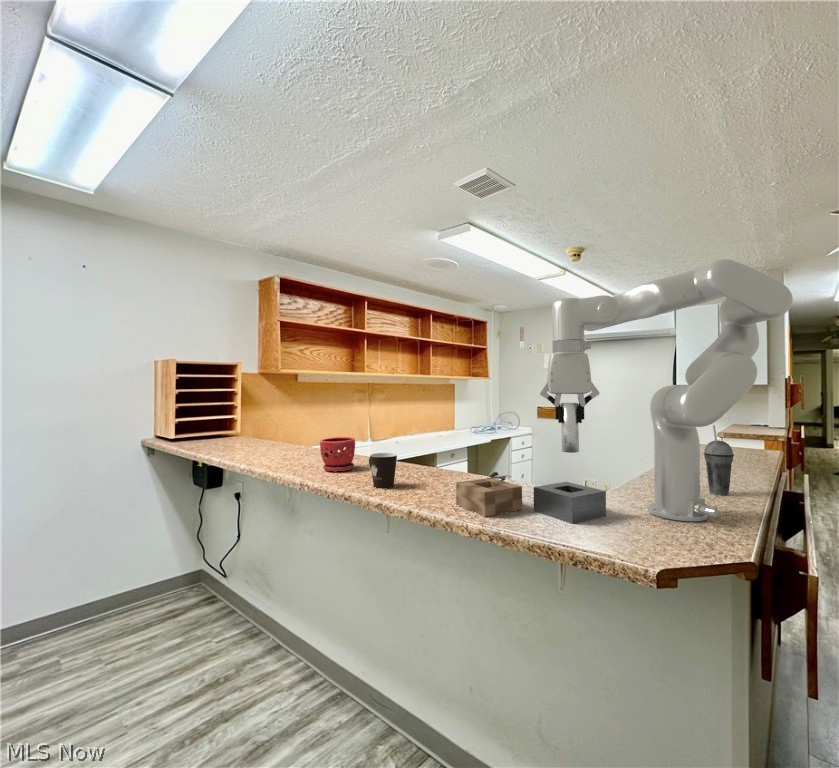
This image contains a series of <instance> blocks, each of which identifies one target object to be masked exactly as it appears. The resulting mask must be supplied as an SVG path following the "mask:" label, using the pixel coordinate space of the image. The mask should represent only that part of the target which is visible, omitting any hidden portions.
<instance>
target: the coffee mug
mask: <svg viewBox="0 0 839 768" xmlns="http://www.w3.org/2000/svg"><path fill="white" fill-rule="evenodd" d="M397 457H398V454H397V453H392V452H375V453H371V454H370V455H369V458H368V465H369V467H370V469H371V478H372V483H373V484H372V486H373V488H374V487H376V488H375V489H378V488H388V489H391V488H390V487H392V488H393V486H395V478H396V477H395V475H396V470H397V469H396V467H397V459H398V458H397Z"/></svg>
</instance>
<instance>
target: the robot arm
mask: <svg viewBox="0 0 839 768" xmlns="http://www.w3.org/2000/svg"><path fill="white" fill-rule="evenodd" d="M721 298H724V299H723V300H722V302H721V303H720V305H719V309H718V315H719V320H720V328H721V329H720V333H719V335H718V336H717V338H716V339H715V340H714V341H713V342H712V343H711V344H710V345H709V346H708V347H707V348H706V349H705V350H703V352H702V353H701V354H699V356H698V357H696V358H695V359H694V360H693V361H692V362H691V364H689V366H688V367H687V369H686V370H685V374H684V376H685V377H684V378H685V382H686V383H687V384H672V385H666V386H663V387H662V388H659V389H658V390H657V391H656V392H655V393H654V394H653V395H652V397H651V400H650V403H649V405H650V406H649V407H650V416H651V421H652V426H653V428H652V429H653V441H654V449H653V451H654V454H653V456H654V502H651V503H649V504H648V505H647V511H648V513H649V514H651V515H654V516H656V517H660V518H663V519H667V520H673V521H678V522H679V521H681V522H703V521H706V520H708V519H709V516H710V517H714V518H717V517H718V515H719V510H718V507H717V506H713V505H707V503H706V499H705V498H703V497H701V467H700V466H701V465H700V464H701V462H700V461H701V459H700V458H701V457H700V456H701V455H700V454H701V453H700V452H701V450H700V438H699V437H700V435H699V432H698V429H697V428H701V427H702V428H704V427H707V426H709V425H710V426H711V425H712V424H715V423H716V422H718V420H719V419H721V418H722V417H723V416H724V415H725V414H726V413H728V411H729V410H731V408H733V406H734V405H736V404H737V403H738V402H739V401H740V400H741V399H742V398H743V397H744V396H745V395H746V394H747V393H748V392H749V391H750V390H751V389H752V387H753V386H754V384H755V382H756V380H757V376H758V368H757V364H756V362H755V361H754V360H753V357H754V355H755V354H756V352H757V351H758V349H759V346H760V337H759V336H760V335H759V330H758V325H757V323H761V322H766V321H771V320H775V319H778V318H780V317H782V316H784V315H785V314H786V313H788V311H790V309H791V307H792V305H793V300H794V299H793V298H794V297H793V294H792V291H791V290H790V288H788V287H787V286H786V284H784V283H783V282H781V281H780V280H777V279H776V278H773V277H772V276H770V275H767V274H766V273H763V272H761V271H759V270H757V269H755V268H753V267H751V266H748V265H746V264H744V263H741V262H739V261H735V260H732V259H725V258H723V259H717V260H715V261H712V262H711V263H708V264H706V265H704V266H701V267H699V268H697V269H693V270H689V271H685V272H681V273H678V274H674V275H670V276H667V277H662V278H658V279H654V280H652V281H648V282H645V283H643V284H641V285H639V286H636V287H634V288H632V289H631V290H628V291H625V292H623V293H620V294H617V295H614V296H611V295H603V294H602V295H594V296H590V297H583V298H578V297H565V298H559V299H556V300H555V301H553V302H552V305H551V332H552V335H551V336H552V337H551V340H552V354H549V355H548V356H549V357H548V362H547V382H546V384H545V385H544V387H543V388H542V390H541V391H540V396H541V397H543V398H545V399H546V400H547V401H549V402H550V403H551V404H552V405H553V406H554V407H555V408H554V410H555V411H554V412H555V415H554V417H555V420H557V422H558V423H559V424H561V422H562V407H561V398H562V395H577V399H578V400H577V401H578V424H582V423H583V420H585V406H586V405H587V404H588V403H590V401H592V399H594V398H596V397H598V396H599V395H600V391H599V390H598V388H597V387H596V385H595V384H594V383H593V381H592V375H591V373H592V372H591V367H590V359H589V356H588V355H589V354H588V353H586V350H591V348H592V346H591V345H592V343H589V342H588V343H587V342H586V341H585V331H586V332H594V331H599V330H602V329H606V328H610V327H613V326H617V325H621V324H625V323H628V322H633V321H637V320H643V319H644V320H645V319H647V318H652V317H656V316H660V315H665V314H667V313H672V312H675V311H678V310H679V311H680V310H682V309H686V308H690V307H695V306H697V305H703V304H706V303H708V302H711V301H715V300H718V299H721ZM549 393H550V394H553V395H555V396H554V397H553V396H552V395H550V394H549ZM585 394H588V395H586V396H584V395H585Z"/></svg>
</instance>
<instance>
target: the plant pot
mask: <svg viewBox="0 0 839 768" xmlns="http://www.w3.org/2000/svg"><path fill="white" fill-rule="evenodd" d="M319 450H320V456H321V459H322V462H323V463H324V465H323V467H322V468H323V469H324V471H326V472H329V471H333V472H332V473H338V472H337V471H343V472H347V470H348V471H350V470H352V469H353V468H354V466H355V464H354V463H353V460H354V457H355V450H356V439H355V437H350V436H343V437H342V436H339V437H338V436H337V437H330V438H329V437H327V438H323V439H320V441H319ZM338 451H339V452H338Z"/></svg>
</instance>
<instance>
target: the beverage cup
mask: <svg viewBox="0 0 839 768" xmlns="http://www.w3.org/2000/svg"><path fill="white" fill-rule="evenodd" d="M712 428H713V435H714V436H713V437H714V440H712V441H710V442H708V443H707V445H706V446H705V448H704V451H703V454H704V460H705V465H706V474H707V482H708V488H709V489H708V490H709V494H711V495H713V494H714V496H719V495H721V497H727V495H728V496H729V492H730V487H731V486H730V485H731V475H732V465H733V464H732V463H733V461H734V456H735V455H734V451H733V448H732V447H731V446H730V444H729V443H727V442H725V441H723V440H718V437H717V431H716V425H714V424H713V425H712Z"/></svg>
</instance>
